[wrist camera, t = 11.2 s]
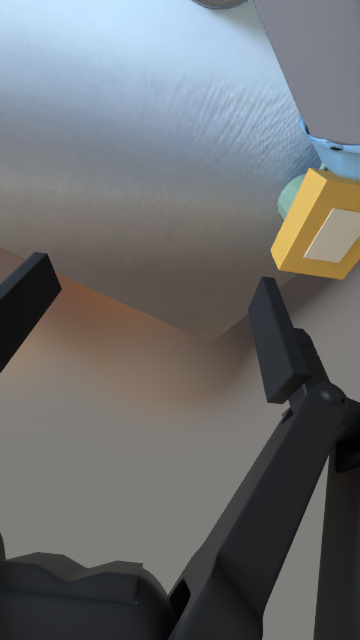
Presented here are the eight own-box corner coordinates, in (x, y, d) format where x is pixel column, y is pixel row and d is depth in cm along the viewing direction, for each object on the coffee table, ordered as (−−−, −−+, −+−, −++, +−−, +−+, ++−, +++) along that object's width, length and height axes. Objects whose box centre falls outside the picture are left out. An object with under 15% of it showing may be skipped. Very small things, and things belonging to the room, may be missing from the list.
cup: (310, 225, 35) (328, 247, 30) (269, 218, 35) (281, 240, 30) (350, 153, 28) (383, 166, 23) (300, 144, 28) (322, 155, 23)
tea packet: (309, 167, 24) (327, 180, 20) (382, 180, 24) (413, 195, 20) (270, 250, 31) (278, 270, 27) (327, 259, 31) (342, 280, 28)
